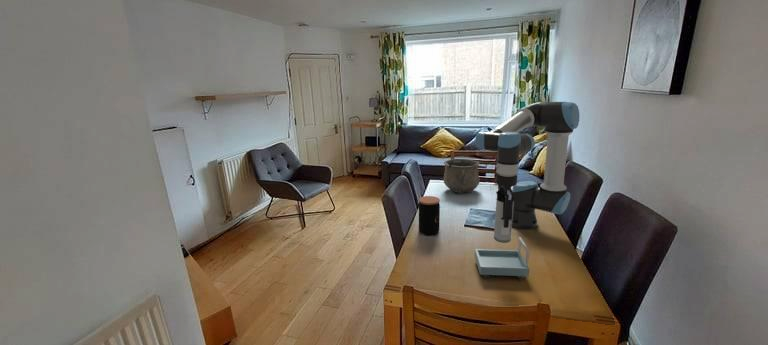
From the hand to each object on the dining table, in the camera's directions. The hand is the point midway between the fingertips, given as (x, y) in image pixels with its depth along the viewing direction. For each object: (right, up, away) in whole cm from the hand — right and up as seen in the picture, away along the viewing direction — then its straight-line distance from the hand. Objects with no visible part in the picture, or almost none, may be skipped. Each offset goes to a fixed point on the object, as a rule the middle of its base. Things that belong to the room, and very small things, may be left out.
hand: (502, 230), depth 125 cm
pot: (+8, +9, +102) cm, 103 cm away
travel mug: (0, -4, +1) cm, 4 cm away
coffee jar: (-23, -8, +41) cm, 48 cm away
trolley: (+1, -17, +5) cm, 18 cm away
